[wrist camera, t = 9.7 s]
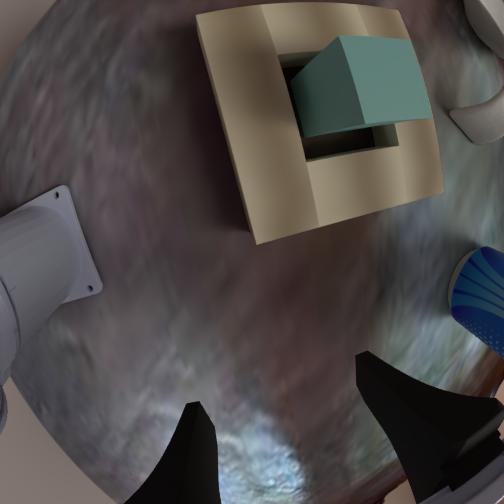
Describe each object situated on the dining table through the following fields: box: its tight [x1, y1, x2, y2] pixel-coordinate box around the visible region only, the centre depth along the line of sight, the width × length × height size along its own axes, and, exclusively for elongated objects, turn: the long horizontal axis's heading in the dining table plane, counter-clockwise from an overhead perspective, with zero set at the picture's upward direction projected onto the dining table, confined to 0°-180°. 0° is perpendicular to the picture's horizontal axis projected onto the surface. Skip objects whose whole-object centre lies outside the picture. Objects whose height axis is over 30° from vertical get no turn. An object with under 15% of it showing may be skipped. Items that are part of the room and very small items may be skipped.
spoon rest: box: [449, 0, 504, 145], centre depth 13 cm, size 24×12×7 cm, turn 155°
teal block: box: [290, 36, 433, 138], centre depth 13 cm, size 4×4×8 cm
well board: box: [196, 2, 444, 244], centre depth 15 cm, size 14×14×3 cm
